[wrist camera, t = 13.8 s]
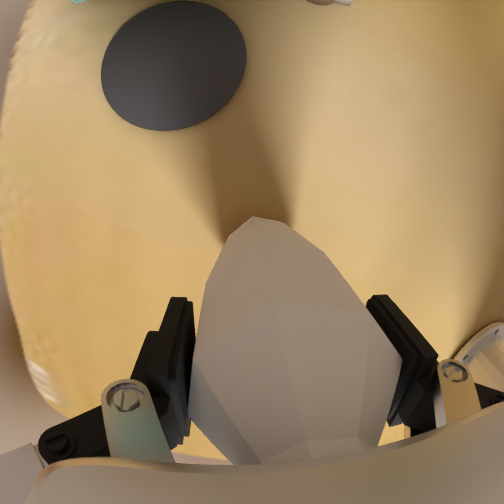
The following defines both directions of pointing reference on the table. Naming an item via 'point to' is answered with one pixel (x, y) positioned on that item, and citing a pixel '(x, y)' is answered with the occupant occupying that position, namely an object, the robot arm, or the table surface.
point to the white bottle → (287, 354)
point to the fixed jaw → (329, 0)
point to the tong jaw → (78, 1)
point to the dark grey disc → (173, 65)
